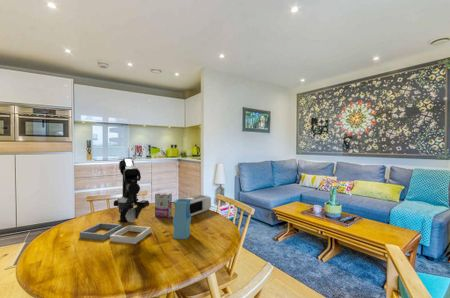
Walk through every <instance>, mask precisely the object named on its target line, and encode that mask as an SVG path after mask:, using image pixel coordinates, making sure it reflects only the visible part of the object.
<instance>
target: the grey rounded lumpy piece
mask: <svg viewBox="0 0 450 298" xmlns="http://www.w3.org/2000/svg"><path fill="white" fill-rule="evenodd" d="M135 213H136V210H135V209H134V207H133V208H131V209H129V210H128V212H127V213H126V216H125V217H126V219H127V221H128V222H127V223H133V222H135V220H137V219H136V217H135Z"/></svg>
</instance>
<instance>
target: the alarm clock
mask: <svg viewBox="0 0 450 298" xmlns="http://www.w3.org/2000/svg"><path fill="white" fill-rule="evenodd" d="M186 199H191V202H190V207H189V210H190V214H191V217H193V216H195V215H196V216H197V215H198V214H200V213H201V214H202V213H204V212H206V211H209V210H210V209H211V207H212V199H211V197H210V195H209V196H208V195H196V196H192V197H187V198H186Z"/></svg>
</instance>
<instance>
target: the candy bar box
mask: <svg viewBox="0 0 450 298" xmlns="http://www.w3.org/2000/svg"><path fill="white" fill-rule="evenodd" d="M172 194H173V193H166V192H157V193H154V217H156V218H164V219H169V218H171V217H173V216H172V215H173V214H172V213H173V211H172V210H173V206H172V205H173V203H172V202H173V195H172Z"/></svg>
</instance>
